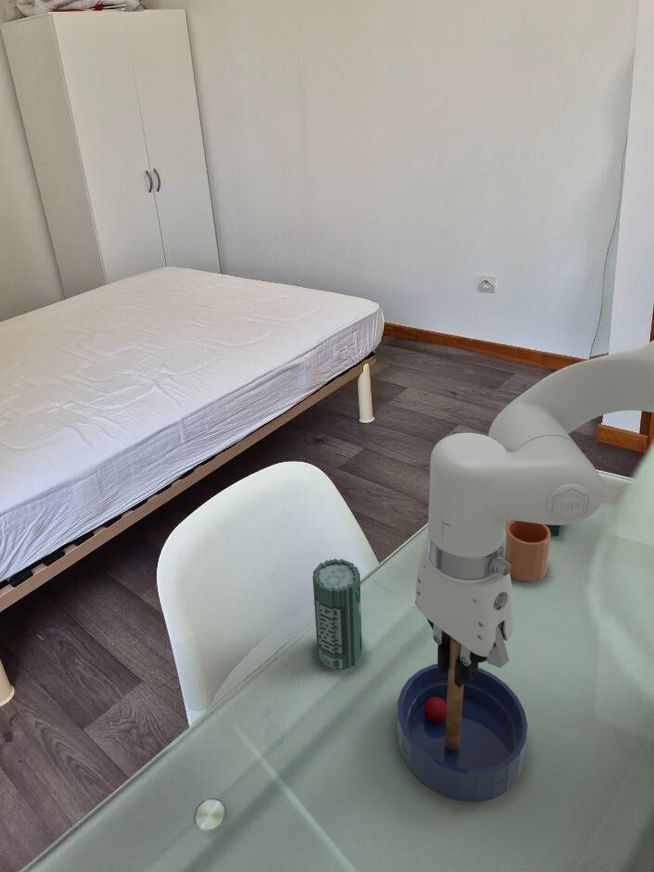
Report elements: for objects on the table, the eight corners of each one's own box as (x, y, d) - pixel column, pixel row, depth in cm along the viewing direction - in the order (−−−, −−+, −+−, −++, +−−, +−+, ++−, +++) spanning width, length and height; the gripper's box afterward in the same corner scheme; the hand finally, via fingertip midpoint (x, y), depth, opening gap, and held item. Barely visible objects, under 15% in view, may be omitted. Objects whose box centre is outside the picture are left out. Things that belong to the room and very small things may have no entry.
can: (368, 648, 100) (366, 568, 93) (348, 678, 96) (345, 597, 89) (332, 631, 103) (328, 553, 97) (311, 660, 99) (305, 580, 92)
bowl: (549, 750, 84) (553, 719, 82) (468, 832, 76) (471, 802, 74) (451, 671, 95) (452, 643, 93) (372, 737, 87) (371, 707, 85)
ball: (441, 689, 88) (432, 696, 90) (424, 701, 87) (416, 707, 89) (456, 712, 87) (447, 718, 89) (439, 724, 85) (430, 730, 88)
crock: (553, 570, 111) (559, 531, 108) (529, 590, 108) (534, 550, 104) (518, 550, 116) (522, 512, 113) (494, 568, 113) (497, 529, 109)
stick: (462, 744, 84) (470, 638, 76) (453, 753, 83) (459, 646, 75) (451, 734, 86) (457, 628, 78) (441, 742, 85) (447, 636, 77)
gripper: (554, 570, 67) (536, 699, 75) (430, 498, 79) (426, 617, 87) (506, 608, 63) (493, 740, 71) (384, 526, 75) (384, 648, 83)
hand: (456, 671), depth 79 cm, fingers closed on stick, 1 cm apart
